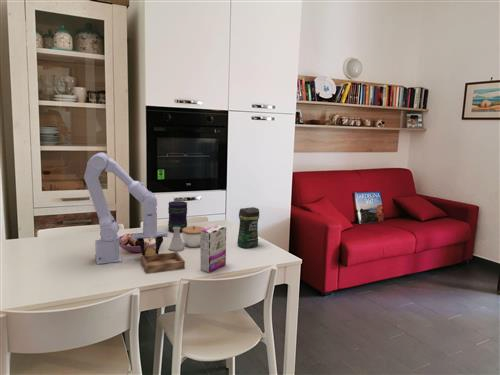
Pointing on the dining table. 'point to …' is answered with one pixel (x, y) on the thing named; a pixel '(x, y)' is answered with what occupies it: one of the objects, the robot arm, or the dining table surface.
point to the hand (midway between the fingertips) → (150, 254)
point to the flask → (176, 241)
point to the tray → (162, 262)
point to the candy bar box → (213, 248)
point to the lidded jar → (192, 235)
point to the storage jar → (177, 215)
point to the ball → (150, 251)
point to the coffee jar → (248, 227)
